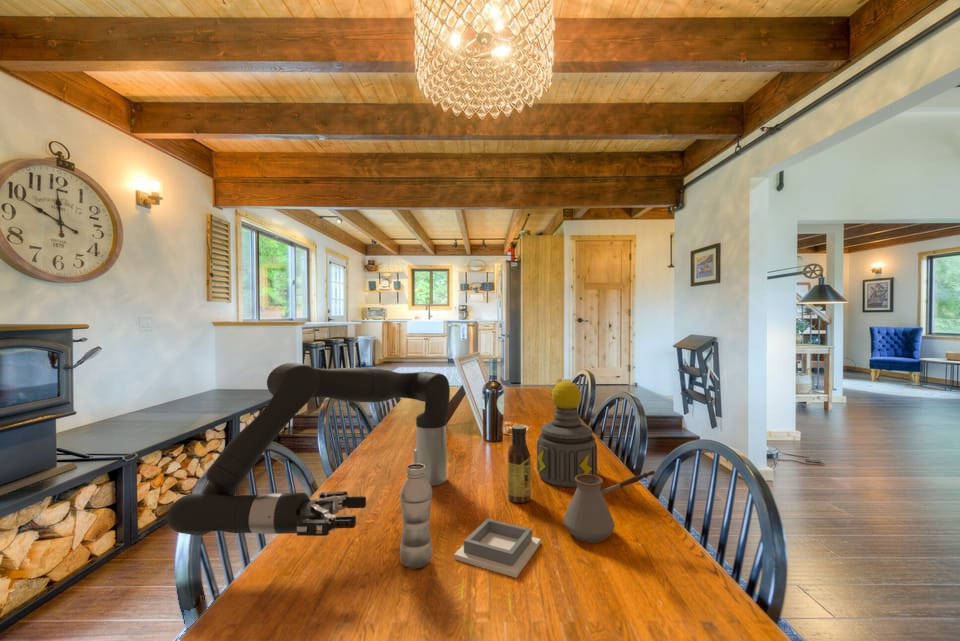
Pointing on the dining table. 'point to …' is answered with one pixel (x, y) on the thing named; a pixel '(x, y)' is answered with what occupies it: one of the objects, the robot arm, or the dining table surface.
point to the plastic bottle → (416, 518)
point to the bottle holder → (499, 547)
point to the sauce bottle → (518, 467)
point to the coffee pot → (593, 508)
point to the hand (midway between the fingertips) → (361, 511)
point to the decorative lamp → (566, 441)
